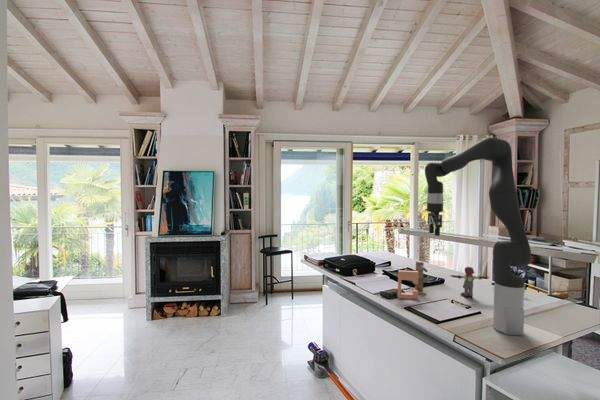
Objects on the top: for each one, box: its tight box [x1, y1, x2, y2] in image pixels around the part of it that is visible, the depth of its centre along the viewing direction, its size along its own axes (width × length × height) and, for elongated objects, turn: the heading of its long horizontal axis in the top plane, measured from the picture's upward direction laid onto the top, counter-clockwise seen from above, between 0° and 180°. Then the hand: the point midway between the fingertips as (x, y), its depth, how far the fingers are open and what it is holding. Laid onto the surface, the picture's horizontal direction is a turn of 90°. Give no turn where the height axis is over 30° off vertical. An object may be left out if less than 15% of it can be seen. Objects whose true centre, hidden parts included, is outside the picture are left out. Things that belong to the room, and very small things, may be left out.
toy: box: [450, 266, 490, 299], centre depth 151 cm, size 18×6×15 cm, turn 84°
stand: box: [411, 260, 428, 296], centre depth 153 cm, size 16×5×16 cm, turn 173°
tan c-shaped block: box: [397, 269, 419, 300], centre depth 149 cm, size 2×9×13 cm, turn 83°
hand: (434, 234), depth 157 cm, fingers open, 8 cm apart
